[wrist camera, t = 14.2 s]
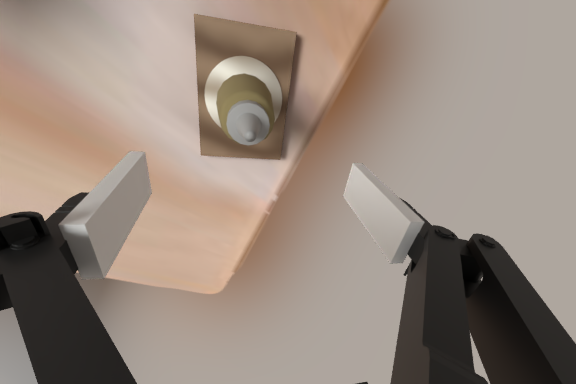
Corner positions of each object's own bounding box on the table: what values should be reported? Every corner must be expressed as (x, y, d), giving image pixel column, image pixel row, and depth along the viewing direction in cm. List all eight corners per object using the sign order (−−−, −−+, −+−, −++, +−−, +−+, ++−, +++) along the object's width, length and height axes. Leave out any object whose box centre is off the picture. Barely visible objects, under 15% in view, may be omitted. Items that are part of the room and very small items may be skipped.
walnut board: (195, 14, 33) (193, 13, 31) (294, 32, 36) (297, 31, 35) (201, 152, 43) (200, 156, 41) (279, 156, 46) (280, 160, 45)
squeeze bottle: (228, 60, 35) (222, 73, 20) (278, 86, 38) (306, 114, 23) (210, 112, 38) (194, 157, 23) (258, 132, 41) (271, 183, 26)
